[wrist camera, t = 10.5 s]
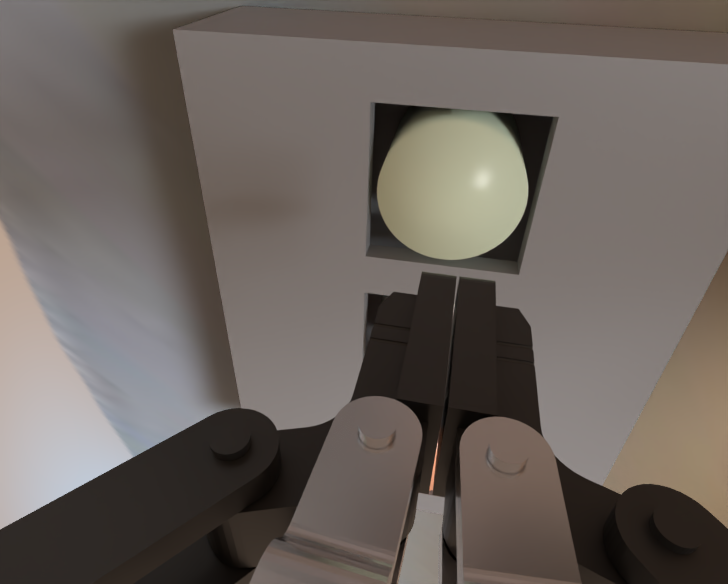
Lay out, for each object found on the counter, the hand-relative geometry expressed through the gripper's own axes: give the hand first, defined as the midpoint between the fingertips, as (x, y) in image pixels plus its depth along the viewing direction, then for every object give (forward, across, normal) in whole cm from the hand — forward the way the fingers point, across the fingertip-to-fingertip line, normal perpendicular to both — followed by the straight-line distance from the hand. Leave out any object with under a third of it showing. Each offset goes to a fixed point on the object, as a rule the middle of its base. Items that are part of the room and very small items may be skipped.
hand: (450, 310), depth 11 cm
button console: (+10, 0, +6) cm, 12 cm away
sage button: (+9, 0, 0) cm, 9 cm away
